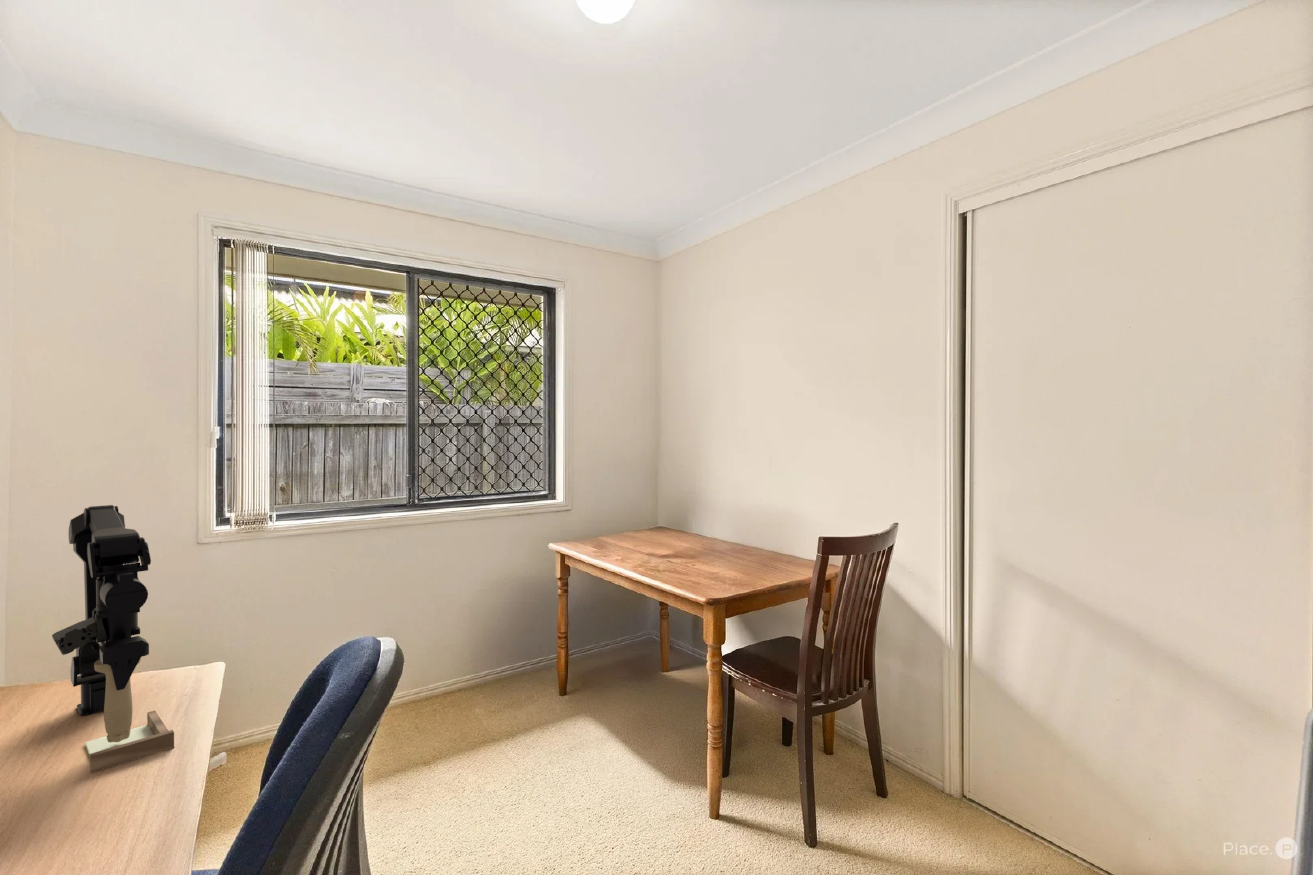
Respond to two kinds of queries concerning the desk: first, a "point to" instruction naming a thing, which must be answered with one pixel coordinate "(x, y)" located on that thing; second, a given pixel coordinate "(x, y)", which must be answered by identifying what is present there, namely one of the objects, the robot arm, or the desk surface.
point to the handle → (116, 706)
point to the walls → (135, 746)
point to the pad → (104, 744)
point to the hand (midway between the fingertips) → (118, 685)
